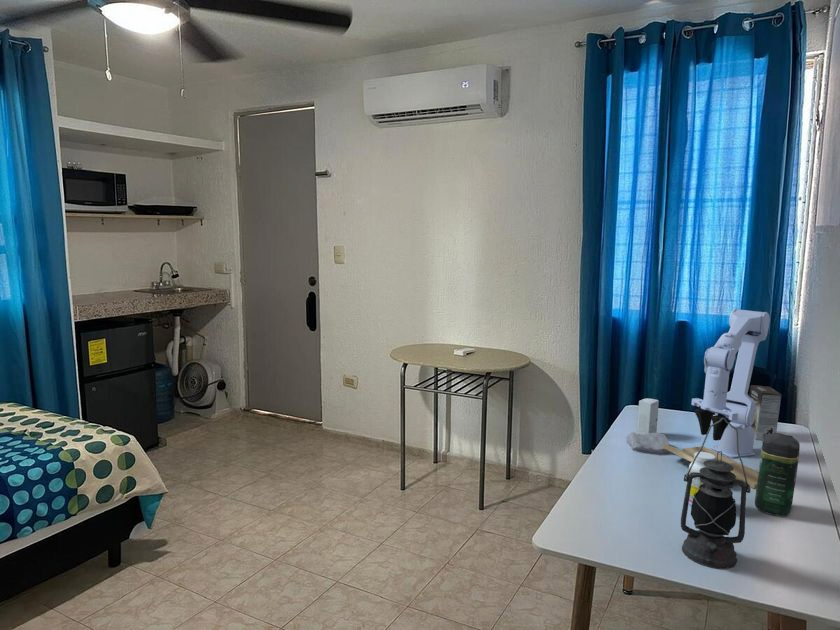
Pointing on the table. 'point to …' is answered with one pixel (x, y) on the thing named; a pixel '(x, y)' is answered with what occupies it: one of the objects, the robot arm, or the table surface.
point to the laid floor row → (738, 470)
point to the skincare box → (647, 416)
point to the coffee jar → (777, 474)
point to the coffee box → (765, 410)
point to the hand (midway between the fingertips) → (710, 437)
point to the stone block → (648, 442)
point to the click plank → (683, 454)
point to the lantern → (714, 513)
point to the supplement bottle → (695, 468)
